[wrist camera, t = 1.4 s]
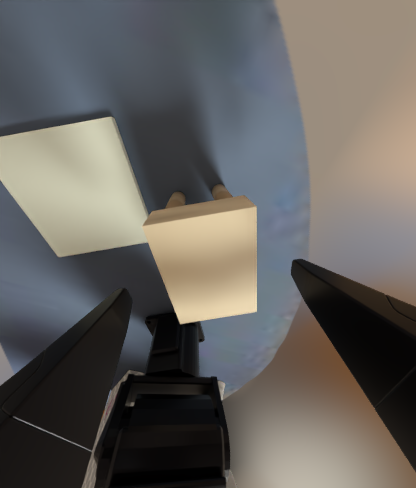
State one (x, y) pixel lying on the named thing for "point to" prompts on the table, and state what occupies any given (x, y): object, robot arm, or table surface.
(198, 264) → the tan block with pegs
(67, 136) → the mat
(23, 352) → the table surface
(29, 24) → the table surface
